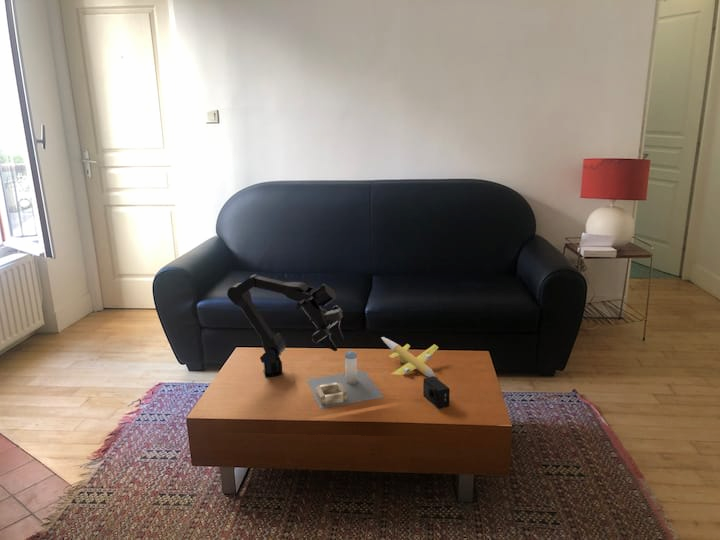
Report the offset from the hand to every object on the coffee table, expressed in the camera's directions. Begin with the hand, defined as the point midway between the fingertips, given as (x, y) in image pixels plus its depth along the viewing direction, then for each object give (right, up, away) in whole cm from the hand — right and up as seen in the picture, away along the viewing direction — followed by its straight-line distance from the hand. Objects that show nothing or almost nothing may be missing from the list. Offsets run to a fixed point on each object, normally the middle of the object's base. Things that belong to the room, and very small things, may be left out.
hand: (340, 345), depth 201 cm
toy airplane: (+27, -11, +12) cm, 32 cm away
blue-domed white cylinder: (+4, -13, 0) cm, 14 cm away
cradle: (-3, -17, -11) cm, 21 cm away
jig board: (+2, -16, -5) cm, 17 cm away
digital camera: (+33, -18, -14) cm, 40 cm away
